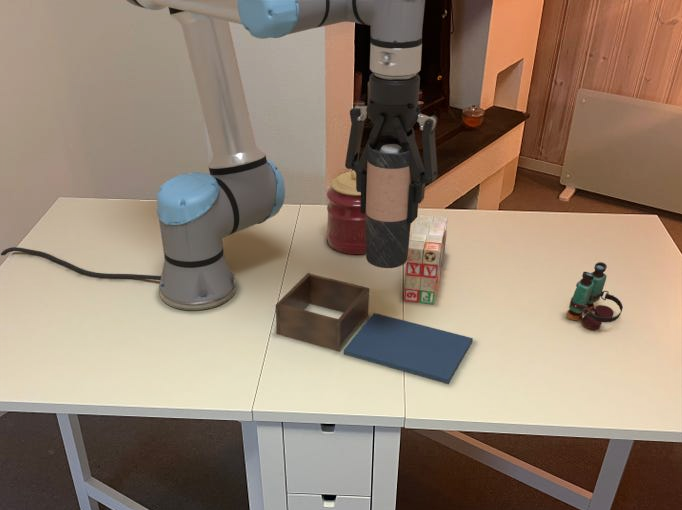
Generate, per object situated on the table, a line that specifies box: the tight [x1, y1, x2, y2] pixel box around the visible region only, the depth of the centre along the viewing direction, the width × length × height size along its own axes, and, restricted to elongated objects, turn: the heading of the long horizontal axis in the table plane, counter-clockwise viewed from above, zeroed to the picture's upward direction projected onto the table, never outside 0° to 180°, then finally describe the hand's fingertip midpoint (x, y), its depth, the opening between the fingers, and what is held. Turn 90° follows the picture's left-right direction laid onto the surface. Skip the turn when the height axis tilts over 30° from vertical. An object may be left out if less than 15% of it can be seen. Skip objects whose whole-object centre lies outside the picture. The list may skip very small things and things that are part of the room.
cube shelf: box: [275, 272, 371, 352], centre depth 143 cm, size 13×13×6 cm
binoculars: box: [565, 261, 624, 331], centre depth 144 cm, size 9×11×10 cm
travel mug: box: [365, 136, 414, 269], centre depth 124 cm, size 8×8×20 cm
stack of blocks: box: [403, 214, 449, 305], centre depth 156 cm, size 21×6×12 cm, turn 168°
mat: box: [343, 312, 474, 385], centre depth 139 cm, size 20×14×1 cm
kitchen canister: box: [326, 169, 366, 255], centre depth 167 cm, size 13×13×18 cm
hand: (388, 214), depth 125 cm, fingers closed on travel mug, 8 cm apart
